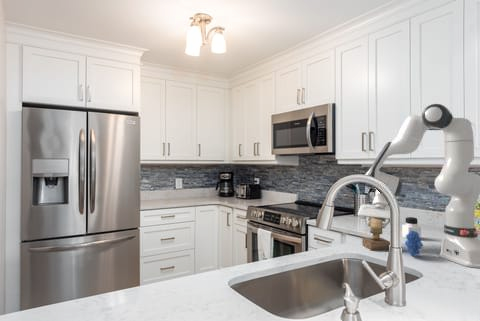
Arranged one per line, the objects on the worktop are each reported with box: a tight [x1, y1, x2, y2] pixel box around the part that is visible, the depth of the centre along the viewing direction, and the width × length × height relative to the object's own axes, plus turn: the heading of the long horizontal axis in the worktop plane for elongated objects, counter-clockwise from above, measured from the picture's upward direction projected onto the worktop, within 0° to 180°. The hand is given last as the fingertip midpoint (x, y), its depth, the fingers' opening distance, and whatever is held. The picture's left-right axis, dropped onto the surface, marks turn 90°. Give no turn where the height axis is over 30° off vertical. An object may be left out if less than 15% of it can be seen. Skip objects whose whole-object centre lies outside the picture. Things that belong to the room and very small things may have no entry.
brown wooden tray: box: [361, 237, 391, 252], centre depth 159 cm, size 10×10×4 cm
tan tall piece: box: [369, 218, 383, 241], centre depth 159 cm, size 6×6×11 cm
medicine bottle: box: [401, 216, 422, 240], centre depth 182 cm, size 7×7×12 cm
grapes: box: [404, 230, 424, 257], centre depth 144 cm, size 12×7×12 cm, turn 125°
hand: (375, 226), depth 158 cm, fingers closed on tan tall piece, 6 cm apart
